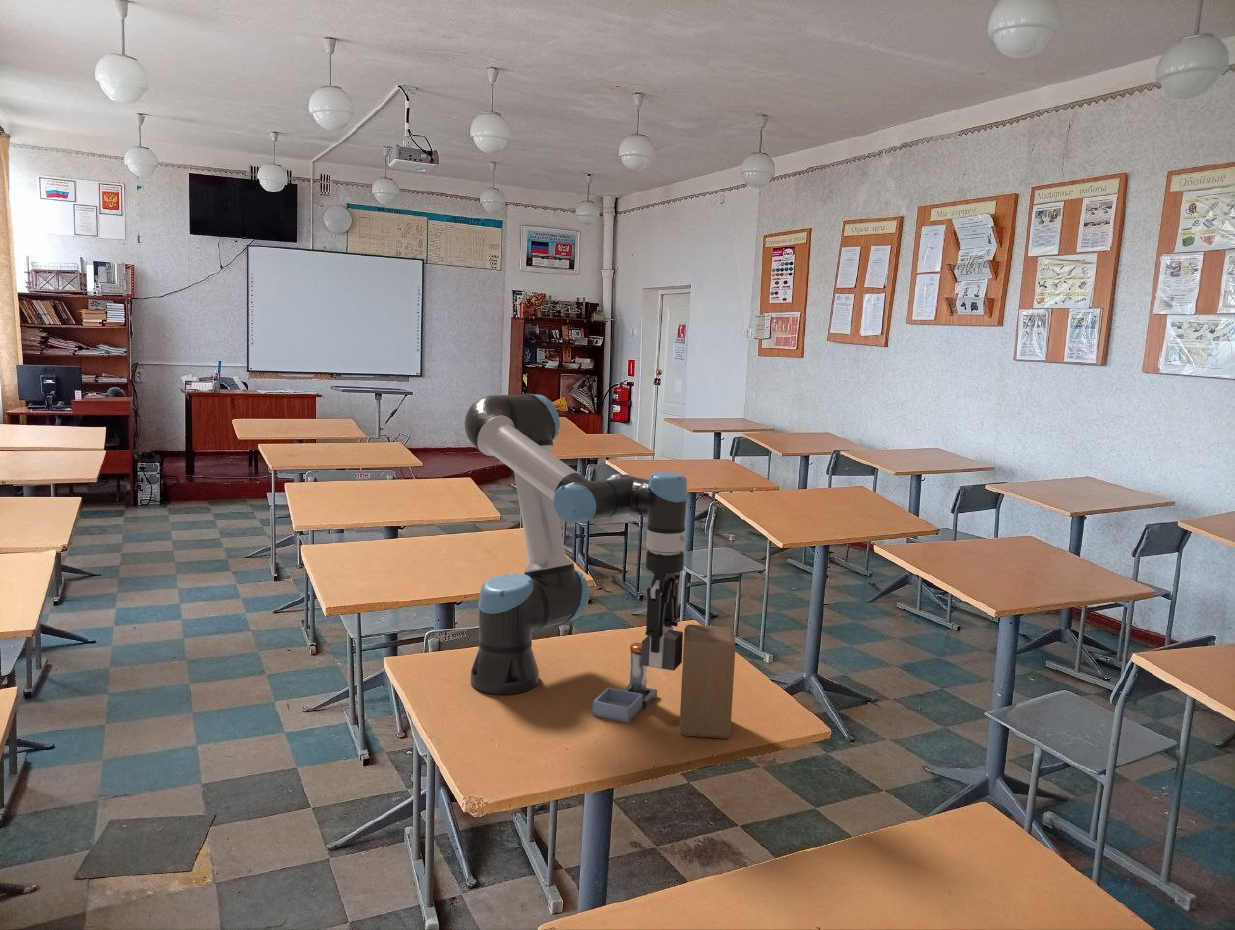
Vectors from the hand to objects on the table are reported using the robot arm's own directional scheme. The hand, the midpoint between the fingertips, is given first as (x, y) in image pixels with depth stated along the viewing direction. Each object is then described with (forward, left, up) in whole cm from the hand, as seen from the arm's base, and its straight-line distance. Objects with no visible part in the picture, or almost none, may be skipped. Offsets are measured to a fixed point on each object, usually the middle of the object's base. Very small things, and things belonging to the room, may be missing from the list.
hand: (660, 661), depth 177 cm
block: (+10, 0, -12) cm, 16 cm away
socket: (-7, +7, -12) cm, 16 cm away
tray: (-9, -1, -12) cm, 15 cm away
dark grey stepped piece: (0, 0, 0) cm, 1 cm away
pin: (-7, +7, -12) cm, 16 cm away
